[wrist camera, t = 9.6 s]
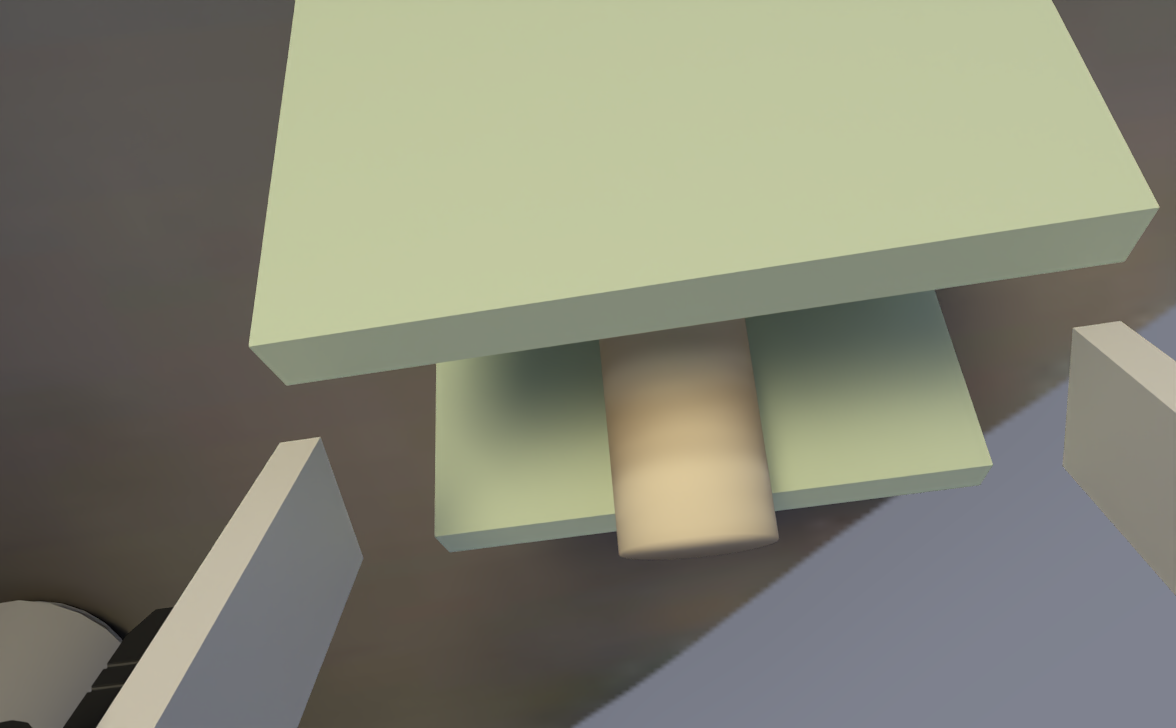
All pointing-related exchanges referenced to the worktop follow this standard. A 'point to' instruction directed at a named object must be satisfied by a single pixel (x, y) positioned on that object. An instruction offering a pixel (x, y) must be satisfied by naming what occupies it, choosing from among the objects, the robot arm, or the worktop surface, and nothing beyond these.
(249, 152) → the worktop surface
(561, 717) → the worktop surface
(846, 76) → the socket
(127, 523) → the worktop surface
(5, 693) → the can
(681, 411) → the dowel
